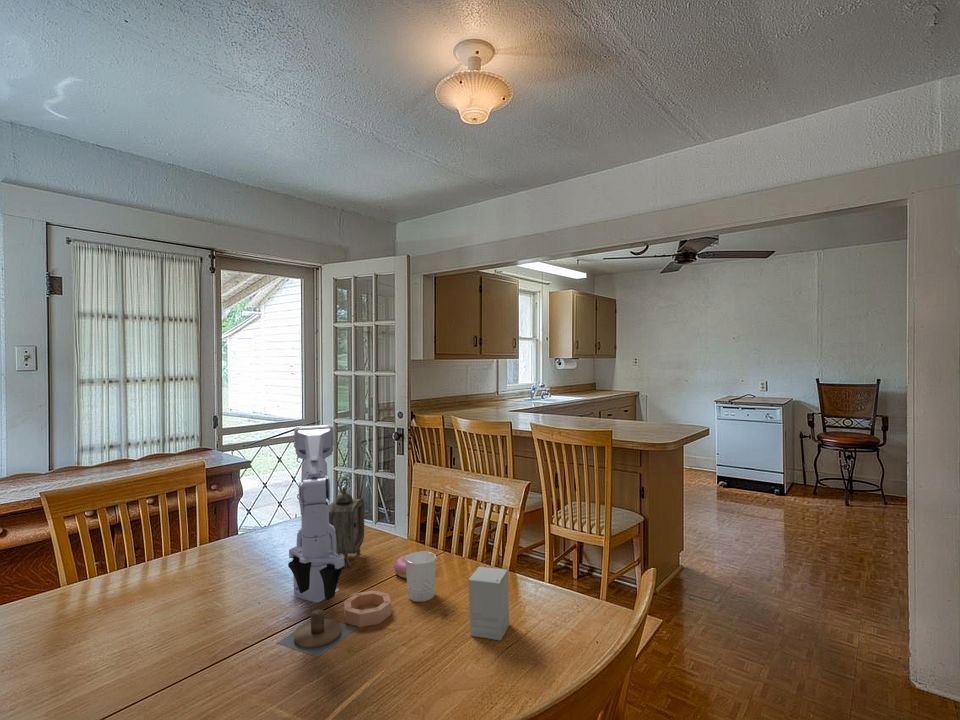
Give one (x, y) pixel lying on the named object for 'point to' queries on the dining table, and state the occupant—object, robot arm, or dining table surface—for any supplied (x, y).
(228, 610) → the dining table surface
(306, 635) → the lid
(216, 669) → the dining table surface
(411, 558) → the white cup
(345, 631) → the mat
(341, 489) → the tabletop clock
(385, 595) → the bowl
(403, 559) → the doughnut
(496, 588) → the supplement box
